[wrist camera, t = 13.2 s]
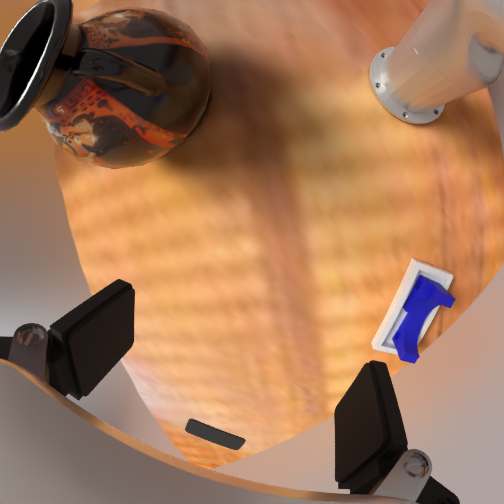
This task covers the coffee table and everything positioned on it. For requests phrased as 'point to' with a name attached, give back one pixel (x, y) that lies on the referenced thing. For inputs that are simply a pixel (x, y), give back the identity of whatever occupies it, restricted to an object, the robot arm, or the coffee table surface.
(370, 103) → the coffee table surface
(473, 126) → the coffee table surface
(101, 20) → the amphora vase
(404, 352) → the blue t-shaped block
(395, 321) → the tray
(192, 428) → the phone
